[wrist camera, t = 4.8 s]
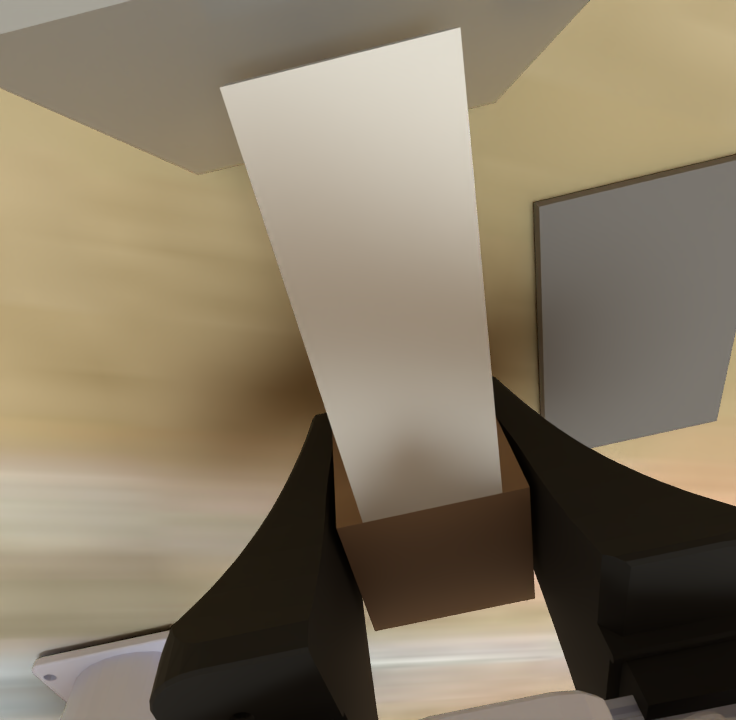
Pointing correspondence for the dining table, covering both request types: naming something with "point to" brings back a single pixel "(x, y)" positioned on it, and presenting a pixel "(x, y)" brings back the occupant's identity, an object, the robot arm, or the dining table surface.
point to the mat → (637, 303)
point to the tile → (235, 56)
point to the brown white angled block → (393, 318)
